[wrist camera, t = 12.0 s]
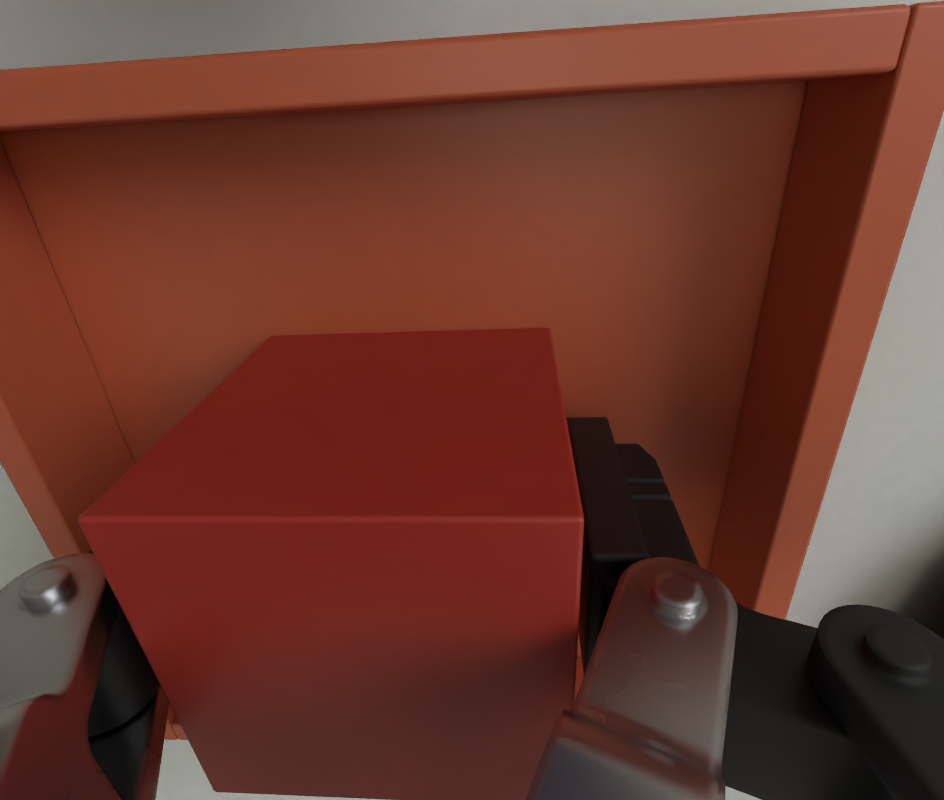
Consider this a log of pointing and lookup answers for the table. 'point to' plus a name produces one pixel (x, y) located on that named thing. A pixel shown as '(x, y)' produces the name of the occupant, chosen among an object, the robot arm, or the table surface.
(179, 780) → the table surface
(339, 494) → the red block
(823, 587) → the table surface
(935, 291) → the table surface
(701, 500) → the terracotta tray
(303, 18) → the table surface
